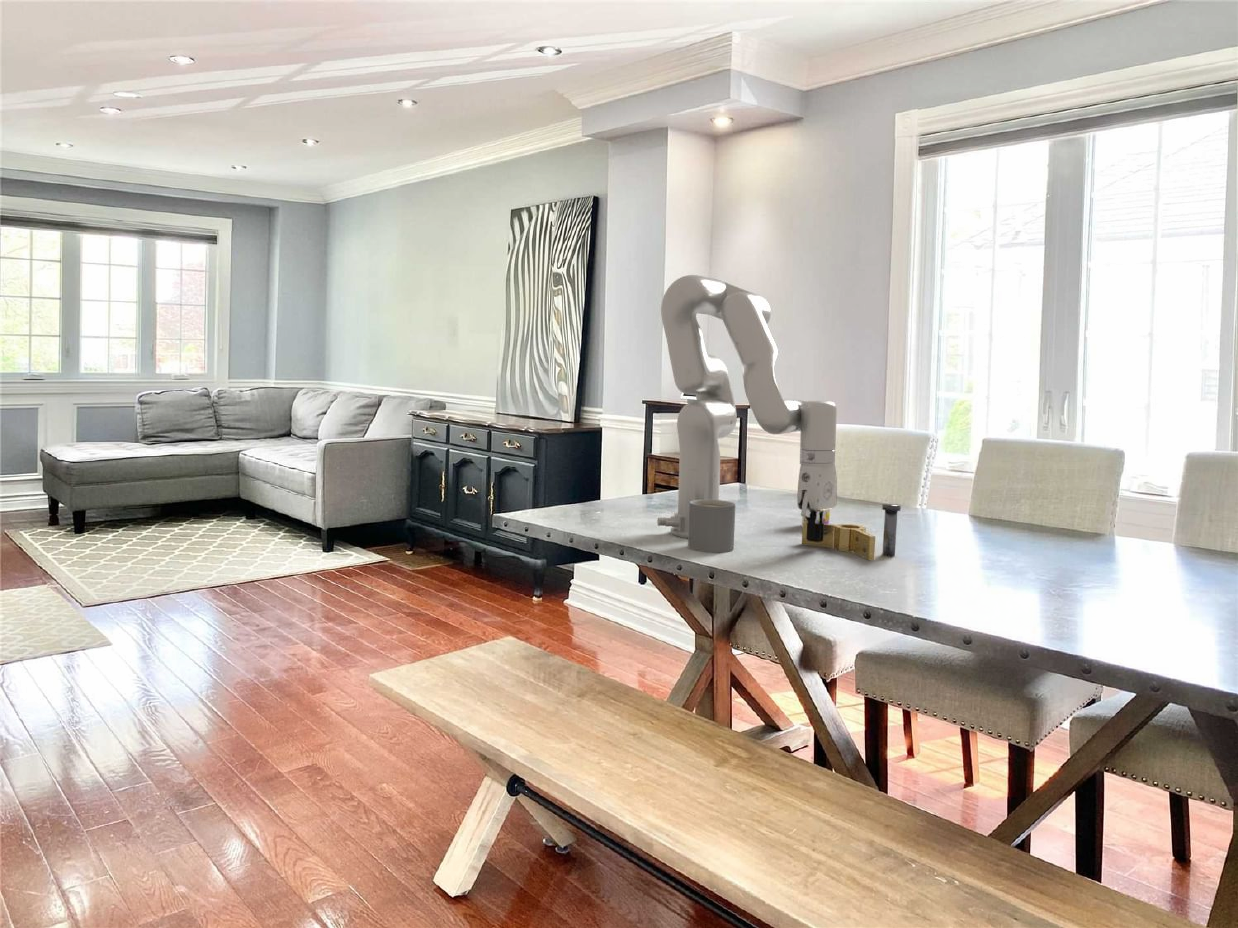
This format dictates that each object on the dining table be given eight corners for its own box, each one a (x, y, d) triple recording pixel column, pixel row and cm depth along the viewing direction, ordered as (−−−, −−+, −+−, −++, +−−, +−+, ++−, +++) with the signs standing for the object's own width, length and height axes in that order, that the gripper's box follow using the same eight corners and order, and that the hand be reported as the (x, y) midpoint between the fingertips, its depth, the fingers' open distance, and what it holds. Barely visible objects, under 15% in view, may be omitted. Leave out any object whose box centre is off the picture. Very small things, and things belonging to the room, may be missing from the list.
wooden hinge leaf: (833, 546, 209) (835, 524, 209) (832, 547, 208) (833, 525, 207) (803, 543, 212) (804, 521, 211) (801, 544, 211) (802, 522, 210)
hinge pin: (884, 557, 199) (887, 506, 198) (876, 553, 203) (879, 503, 202) (900, 556, 200) (904, 506, 198) (892, 553, 203) (895, 503, 202)
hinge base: (857, 560, 195) (858, 536, 195) (829, 545, 210) (830, 524, 209) (885, 559, 197) (886, 536, 196) (856, 545, 211) (857, 523, 210)
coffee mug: (723, 554, 197) (725, 508, 196) (680, 549, 202) (682, 503, 201) (745, 544, 209) (747, 500, 208) (704, 539, 214) (705, 496, 213)
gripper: (815, 461, 194) (813, 548, 196) (849, 456, 206) (846, 538, 208) (784, 458, 199) (782, 543, 201) (818, 454, 210) (816, 534, 212)
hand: (814, 540), depth 204 cm, fingers closed
